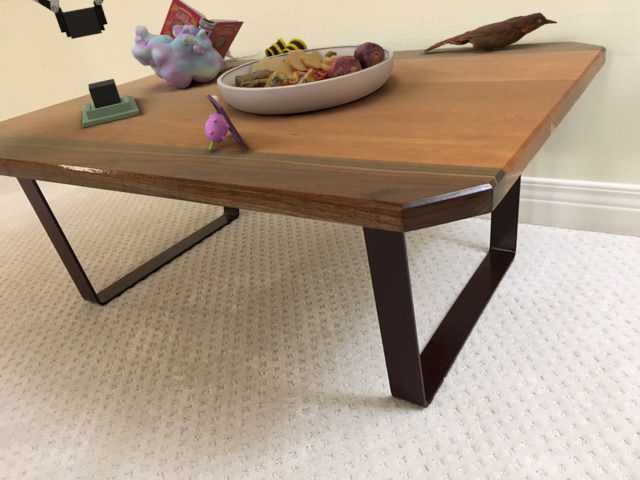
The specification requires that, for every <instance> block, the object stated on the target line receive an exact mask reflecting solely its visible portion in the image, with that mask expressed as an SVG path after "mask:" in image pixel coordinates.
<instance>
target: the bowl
mask: <svg viewBox="0 0 640 480" xmlns="http://www.w3.org/2000/svg"><path fill="white" fill-rule="evenodd" d="M394 64H395V57H394V52H393V50H392V49H390V48H388V47H386V46H381V45H380V44H378V43H375V42H371V41H365V42H364V43H361V44H345V45H332V46H322V47H314V48H307V50H301V49H296V50H292V51H289V52H288V53H284V54H279V55H275V56H271V57H266V56H263V57H262V58H260V59H259V58H258V59H256V60H252V61H249V62H246V63H243V64H241V65H238V66H235V67H233V68H231V69H229V70H226V71H225V72H224V73H222V74H221V75H220V76H219V77H218V78H217V80H216V83H217V87H218V91H219V93H220V96H222V98H223V99H224V100H225V102H226V103H227V104H229V105H230V106H231V107H233V108H235V109H237V110H239V111H243V112H246V113H251V114H258V115H289V114H290V115H291V114H300V113H308V112H314V111H319V110H324V109H330V108H333V107H337V106H341V105H345V104H348V103H350V102H351V103H352V102H354V101H356V100H359V99H362V98H364V97H366V96H368V95H370V94H372V93H374V92H376V91H377V90H378V89H380V88H381V87H382V86H384V84H385V83H386V82H387V81H388V80H389V78H390V77H391V75H392V72H393V70H394Z"/></svg>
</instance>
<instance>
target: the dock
mask: <svg viewBox="0 0 640 480" xmlns="http://www.w3.org/2000/svg"><path fill="white" fill-rule="evenodd" d="M87 85H88V91H89V94H90V98H91V100H92V103H91V102H87V103H85V105H82V127H83V128H87V127H91V126H97V125H100V124H104V123H110V122H114V121H117V120H121V119H122V120H123V119H125V118H129V117H130V118H131V117H135V116H139V115H140V114H141V113H140V111H139V108H138V105H137V103H136V100H135V98H134V96H133V95H132V94H130V95H127V94H123V95H122V97H120V94H119V90H118V87H117V84H116V81H115V78H109V79H105V80H101V81H97V82H92V83H88V84H87Z"/></svg>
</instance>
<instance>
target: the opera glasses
mask: <svg viewBox="0 0 640 480" xmlns="http://www.w3.org/2000/svg"><path fill="white" fill-rule="evenodd" d="M296 49H301V50H307V49H308V45H307V44H306V43H305V42H304V40H303V39H300V38H296V37H295V38H292V39H290V40H289V41H288V43H286V42H285V41H284V39H283V38H281V37H280V38H277V41H276V42H274V43H272V44H271V45H270V46H269V47H267V48H265V51H264V53H265V57H271V56H275V55H279V54H284V53H288V52H289V51H292V50H296Z"/></svg>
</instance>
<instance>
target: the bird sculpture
mask: <svg viewBox="0 0 640 480" xmlns="http://www.w3.org/2000/svg"><path fill="white" fill-rule="evenodd" d="M551 24H552V25H553V24H558V21H557V20H556V21H555V20H551V19H547V17H546V16H545V15H544V14H543V13H542V12H534V13H531V14H527V15H518V16H513V17H510V18H507V19H504V20H502V21H498V22H492V23H489V24H485V25H482V26H478V27H476V28H475V29H472V30H467V31H465V32H464V33H461V34H457V35H455V36H453V37H449V38H447V39H444V40H441V41H438V42H436V43H434V44H433V45H430V46H429V47H427V48H426V49H424V51H423V53H425V54H426V53H427V52H430V51H433V50H435V49H438V48H440V47H443V46H445V45H447V44H449V45H454V46H464V45H467V44H471V45H472V48H473V49H475V50H478V51H479V50H483V51H493V50H501V49H502V50H503V49H505V48H507V47H509V46H511V45H513V44H516V43H518V42H519V41H520V40H521V39H523V38H524V37H525V36H526V35H529V34H531V33H532V32H534V31H536V30H539V28H541V27H543V26H545V25H551Z"/></svg>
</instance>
